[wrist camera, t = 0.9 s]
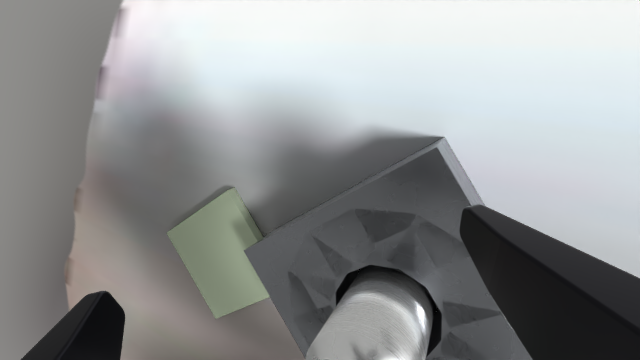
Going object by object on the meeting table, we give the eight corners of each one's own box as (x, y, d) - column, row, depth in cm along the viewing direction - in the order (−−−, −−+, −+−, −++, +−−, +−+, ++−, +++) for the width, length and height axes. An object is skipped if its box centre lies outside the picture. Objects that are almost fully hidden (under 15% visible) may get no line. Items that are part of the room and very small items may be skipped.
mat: (290, 285, 26) (285, 290, 25) (221, 313, 30) (215, 318, 30) (234, 187, 26) (227, 190, 26) (173, 229, 31) (166, 232, 30)
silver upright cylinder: (454, 302, 21) (440, 428, 13) (387, 321, 23) (340, 438, 15) (414, 233, 21) (375, 318, 13) (351, 260, 23) (286, 344, 15)
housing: (570, 349, 19) (591, 409, 15) (366, 386, 25) (348, 433, 22) (444, 136, 19) (436, 146, 15) (275, 229, 26) (243, 250, 22)
